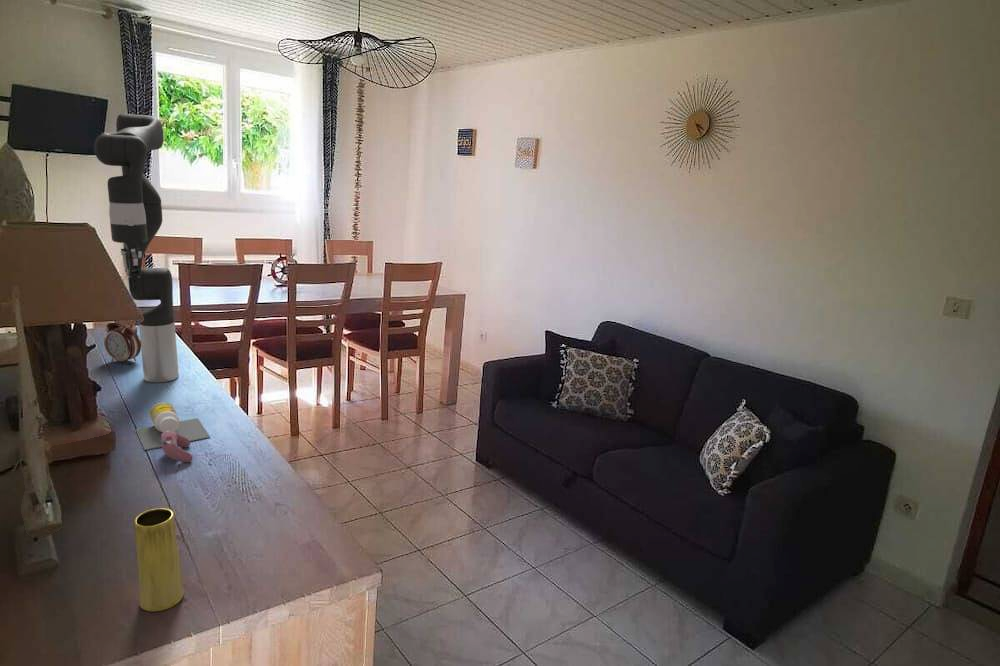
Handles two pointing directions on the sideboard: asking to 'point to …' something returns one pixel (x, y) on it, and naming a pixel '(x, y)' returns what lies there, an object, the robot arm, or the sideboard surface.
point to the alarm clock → (122, 341)
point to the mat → (185, 428)
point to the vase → (158, 560)
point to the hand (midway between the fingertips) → (135, 292)
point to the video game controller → (176, 446)
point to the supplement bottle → (164, 417)
